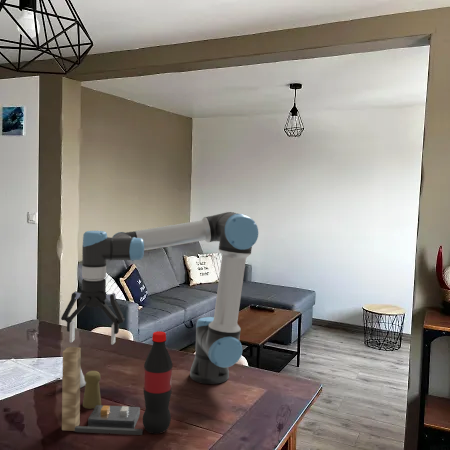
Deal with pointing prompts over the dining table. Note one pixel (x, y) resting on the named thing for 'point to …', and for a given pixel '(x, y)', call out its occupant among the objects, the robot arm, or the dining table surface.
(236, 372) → the dining table surface
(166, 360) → the cola bottle
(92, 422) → the breaker panel
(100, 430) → the thin curved gray strip
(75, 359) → the oak post
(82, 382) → the flask
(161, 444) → the dining table surface
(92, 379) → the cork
